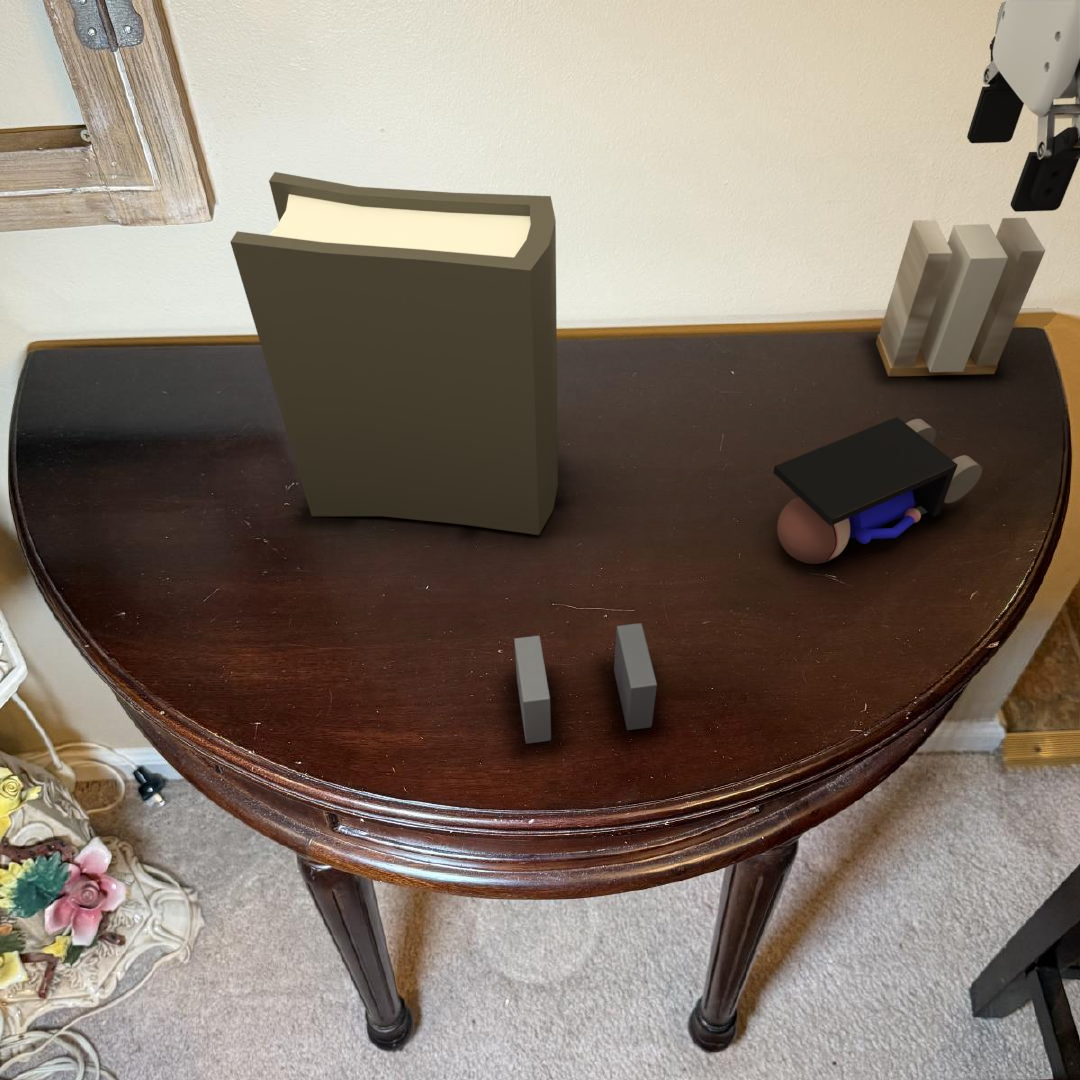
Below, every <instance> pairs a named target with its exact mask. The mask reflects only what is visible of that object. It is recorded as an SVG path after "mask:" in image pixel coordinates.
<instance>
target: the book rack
mask: <svg viewBox="0 0 1080 1080" xmlns="http://www.w3.org/2000/svg"><path fill="white" fill-rule="evenodd" d="M995 236H996V237H997V239H998V241H999V243H1000V244H1001V246H1002V248H1003V250H1004V251H1005V253H1006V255H1007V257H1008V259H1007V261H1006V264H1005V266H1004V269H1003V271H1002V274H1001V276H1000V279H999V282H998V284H997V287H996V289H995V292H994V294H993V297H992V299H991V302H990V304H989V307H988V310H987V312H986V315H985V317H984V320H983V322H982V325H981V327H980V330H979V332H978V335H977V337H976V340H975V343H974V345H973V348H972V350H971V353H970V355H969V358H968V360H967V363H966V365H965V368H964V371H963V372H933V373H930V372H929V369H928V367H927V364H926V362H925V360H924V357H923V355H922V353H921V350H920V346H921V343H922V340H923V337H924V334H925V331H926V329H927V326H928V323H929V320H930V317H931V314H932V311H933V308H934V305H935V302H936V299H937V296H938V293H939V291H940V288H941V285H942V282H943V279H944V276H945V273H946V270H947V267H948V264H949V261H950V258H951V255H952V251H951V249H950V247H949V245H948V240H947V239H946V237H945V235H944V233H943V232H942V230H941V227H940V225H939V223H938V222H937V220H936V219H922V220H920V219H919V220H918V219H917V220H913V221H912V223H911V227H910V230H909V233H908V237H907V241H906V243H905V247H904V251H903V253H902V257H901V259H900V260H901V261H900V264H899V267H898V270H897V273H896V276H895V281H894V283H893V287H892V290H891V294H890V297H889V300H888V303H887V307H886V311H885V313H884V317H883V321H882V324H881V327H880V330H879V333H878V334H877V337H876V341H875V345H876V347H877V350H878V353H879V356H880V358H881V361H882V364H883V367H884V370H885V372H886V375H887V377H889V378H890V377H891V378H892V377H925V376H927V377H929V376H930V377H931V376H932V377H933V376H965V375H968V376H969V375H994V374H996V371H997V369H998V367H999V365H998V363H999V361H1000V359H1001V356H1002V354H1003V352H1004V349H1005V348H1006V344H1007V343H1008V340H1009V337H1010V335H1011V333H1012V330H1013V328H1014V326H1015V325H1016V322H1017V319H1018V316H1019V314H1020V312H1021V310H1022V307H1023V306H1024V305H1023V304H1024V302H1025V300H1026V298H1027V295H1028V293H1029V290H1030V288H1031V286H1032V283H1033V281H1034V279H1035V276H1036V274H1037V271H1038V269H1039V267H1040V265H1041V262H1042V260H1043V258H1044V255H1045V253H1046V249H1045V247H1044V246H1043V244H1042V242H1041V241H1040V239H1039V238H1038V236H1037V234H1036V233H1035V231H1034V230H1033V228H1032V226H1031V224H1030V222H1028V220H1027V218H1026V217H1003V218H1002V219H1001V221H1000V224H999V227H998V230H997V232H996V234H995Z"/></svg>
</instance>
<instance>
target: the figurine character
mask: <svg viewBox="0 0 1080 1080" xmlns="http://www.w3.org/2000/svg"><path fill="white" fill-rule="evenodd" d="M936 436H937V431H936V429H935V428H934V427H933V426H931V425H930V424H929V423H927V422H926V421H924V420H923V419H921V418H914V419H911V420H909V421H907V422H904V421H903V420H902V419H900V418H899V417H898V416H895V417H893V418H891V419H887V420H885V421H883V422H881V423H877V424H876V425H873V426H871V427H868V428H865V429H863V430H861V431H858V432H856V433H854V434H851V435H848V436H846V437H843V438H841V439H838V440H837V441H833V442H830V443H829V444H826V445H823V446H821V447H819V448H816V449H813V450H812V451H809V452H806V453H804V454H801V455H798V456H795V457H794V458H791V459H789V460H786V461H784V462H781V463H779V464H776V465H774V468H773V474H774V475H775V476H776V477H777V478H778V479H779V480H781V481H782V483H784V484H785V485H786V486H787V487H788V488H789V489H790V490H791V491H792V492H793V493H794V494H795V495H797V497H795V498H793V499H792V500H790V501H789V502H788V503H787V504H786V505H785V506H784V508H783V509H782V510H781V512H780V514H779V516H778V519H777V523H776V531H777V537H778V541H779V542H780V545H781V547H782V548H783V549H784V551H785V552H786V553H787V554H788V555H789V556H791V557H792V558H793V559H795V560H797V561H799V562H801V563H805V564H809V565H810V564H811V565H818V564H824V563H827V562H830V561H832V560H833V559H835V558H837V557H838V556H839V555H840V554H841V553H842V552H843V551H844V550H845V548H846V546H847V545H848V543H849V540H850V539H854V538H855V539H856V541H857V542H858V543H859V544H862V545H866V544H869V543H870V541H871V540H878V539H879V540H880V539H897V538H898V537H899V536H900V535H901V534H902V533H904V532H905V531H906V530H907V529H908V528H910V527H911V526H912V525H913V524H914V523H915V524H916V523H918V522H919V521H920V520H921V517H922V515H925V514H927V513H928V514H929V515H931V517H936V516H938V515H940V514H941V512H942V508H943V506H944V503H945V504H952V503H955V502H957V501H959V500H960V499H962V498H963V497H964V496H966V495H967V494H968V493H969V492H970V491H971V490H972V489H973V488H974V487H975V486H976V485H977V483H978V482H979V480H980V479H981V476H982V474H983V467H982V466H981V464H979V463H977V461H975V460H974V459H972V458H971V457H970V456H968V455H965V454H963V455H959V456H957V457H955V458H953V459H951V458H950V457H949V456H947V455H946V454H945V453H944V452H942V451H941V450H940V449H939V448H938V447H936V446H935V445H933V443H934V442H935V439H936ZM915 503H916V504H918V505H919V506H918V507H915ZM899 519H900V521H899V522H898V523H897V524H896V525H894V526H893V527H887V528H885V527H882V526H885V525H887V524H890V523H891V522H894V521H896V520H899ZM881 527H882V528H881Z"/></svg>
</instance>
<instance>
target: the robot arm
mask: <svg viewBox="0 0 1080 1080" xmlns="http://www.w3.org/2000/svg"><path fill="white" fill-rule="evenodd" d="M1000 4H1001V6H1000V5H999V6H1000V9H999V8H998V9H999V12H998V11H997V16H998V17H996V24H995V33H994V36H993V38H992V40H990V43H989V50H990V63H989V64H988V65H987V66H986V67H985V69H984V71H983V75H982V82H983V84H984V85H986V86H982V87H981V91H980V92H979V96H978V99H977V102H976V106H975V109H974V112H973V116H972V119H971V122H970V125H969V127H968V128H969V129H968V133H967V135H966V138H967V140H968V142H969V143H971V144H997V143H999V144H1001V143H1002V144H1003V143H1008V142H1010V141H1011V140H1012V139H1013V136H1014V134H1015V131H1016V128H1017V125H1018V122H1019V119H1020V116H1021V113H1022V111H1023V108H1024V105H1025V106H1026V107H1027V109H1028V110H1029V111H1030V112H1031V113H1032V114H1034V115H1035V116H1037V133H1036V151H1029V152H1028V154H1027V157H1026V160H1025V162H1024V164H1023V165H1024V166H1023V168H1022V171H1021V174H1020V176H1019V179H1018V181H1017V184H1016V187H1015V189H1014V192H1013V195H1012V197H1011V201H1010V207H1011V209H1012V211H1013V212H1016V213H1018V212H1019V213H1020V212H1053V211H1056V210H1058V209H1059V208H1060V207H1061V205H1062V203H1063V200H1064V198H1065V196H1066V193H1067V190H1068V188H1069V185H1070V183H1071V182H1072V181H1071V180H1072V178H1073V175H1074V173H1075V171H1076V168H1077V165H1078V163H1079V162H1080V0H1006V1H1003V2H1001V3H1000ZM1074 98H1075V100H1074V103H1065V104H1064V103H1061V104H1059V103H1058V104H1057V103H1056V104H1054V100H1059V99H1060V100H1061V99H1074ZM1056 119H1057V120H1058V119H1060V120H1061V119H1062V120H1064V119H1071V126H1068V127H1066V128H1065V129H1064V130H1062V131H1060V132H1059V133H1058V134H1056V135H1055V125H1056Z"/></svg>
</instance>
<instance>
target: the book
mask: <svg viewBox="0 0 1080 1080" xmlns="http://www.w3.org/2000/svg"><path fill="white" fill-rule="evenodd" d="M268 183H269V187H270V191H271V195H272V199H273V203H274V206H275V211H276V215H277V219H278V222H277V224H276V226H275V228H274V229H272V230H271V232H270V233H268V234H261V233H255V232H254V233H253V232H245V231H239V230H238V231H236V232H235V233H234V235H233V237H232V238H231V240H230V241H229V242H230V246H231V249H232V252H233V255H234V259H235V262H236V266H237V269H238V272H239V276H240V280H241V283H242V286H243V289H244V292H245V293H244V294H245V296H246V300H247V304H248V306H249V309H250V314H251V317H252V320H253V323H254V326H255V330H256V334H257V336H258V340H259V343H260V347H261V350H262V354H263V357H264V361H265V362H266V367H267V370H268V373H269V377H270V380H271V384H272V387H273V391H274V394H275V397H276V400H277V401H276V402H277V404H278V407H279V411H280V414H281V417H282V421H283V424H284V428H285V432H286V434H287V438H288V441H289V445H290V447H291V452H292V455H293V458H294V461H295V465H296V468H297V472H298V475H299V479H300V482H301V485H302V489H303V492H304V496H305V499H306V502H307V505H308V509H309V512H310V515H311V517H385V518H396V519H406V520H414V521H425V522H435V523H443V524H444V523H445V524H446V523H447V524H453V525H463V526H471V527H476V528H477V527H478V528H485V529H493V530H498V531H499V530H500V531H505V532H506V531H507V532H514V533H521V534H529V535H535V536H540V535H541V532H542V531H543V529H544V527H545V525H546V524H547V522H548V520H549V518H550V517H551V515H552V513H553V511H554V508H555V503H556V497H557V492H558V487H559V454H558V453H559V441H558V440H559V439H558V438H559V437H558V433H559V432H558V351H557V350H558V343H557V341H558V335H557V334H558V332H557V329H558V327H557V324H558V323H557V322H558V321H557V320H558V319H557V234H556V233H557V228H556V227H557V226H556V225H557V223H556V222H557V221H556V216H555V211H554V207H553V201H552V196H551V195H531V194H530V195H529V194H528V195H527V194H503V193H501V194H500V193H473V192H472V193H471V192H450V191H435V190H433V191H431V190H417V189H403V188H402V189H401V188H386V187H385V188H384V187H371V186H369V187H367V186H356V185H350V184H346V183H341V182H333V181H327V180H323V179H317V178H312V177H308V176H307V177H306V176H300V175H296V174H295V175H294V174H290V173H283V172H278V171H274V172H273V174H272V175H271V177H270V178H269V180H268Z"/></svg>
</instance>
